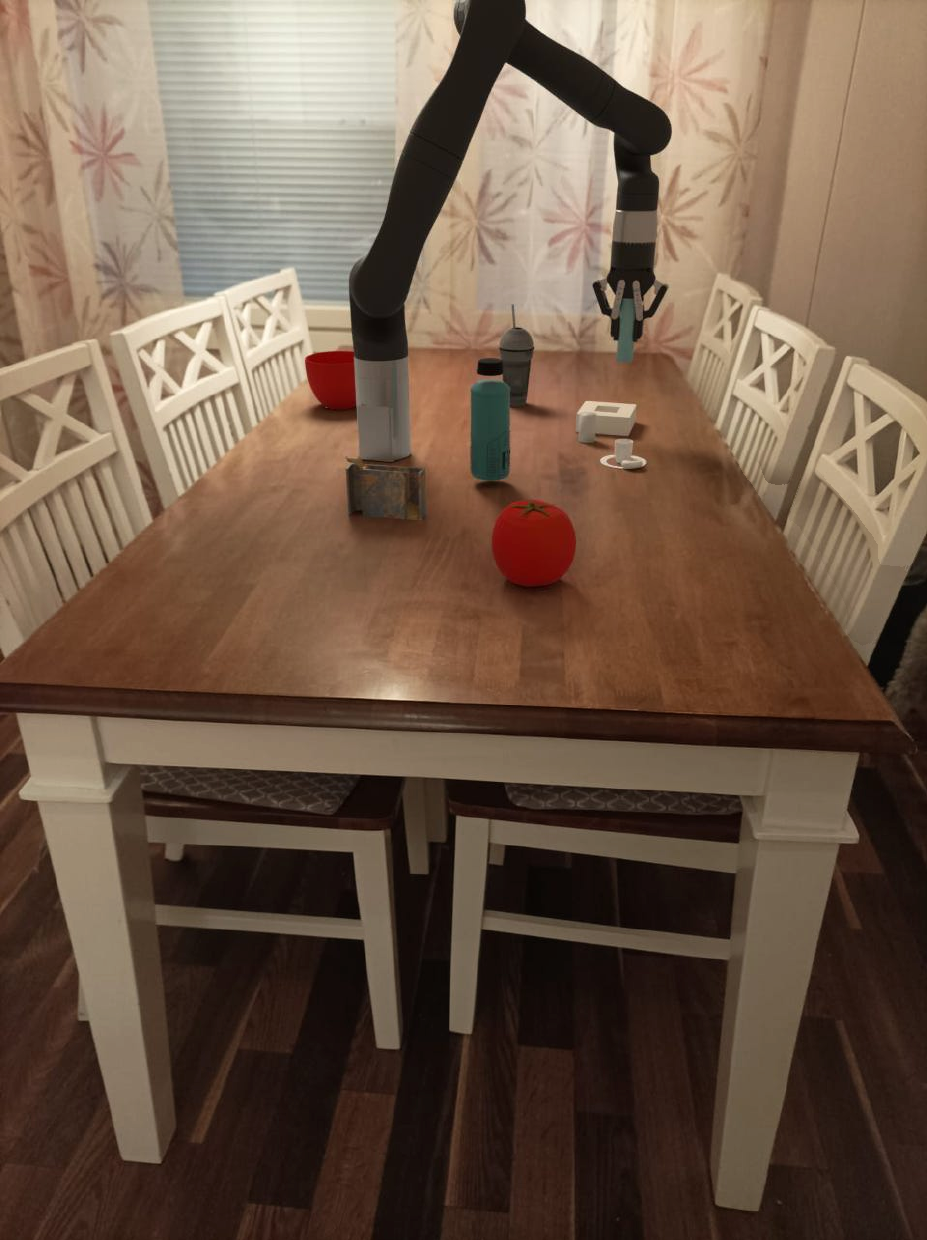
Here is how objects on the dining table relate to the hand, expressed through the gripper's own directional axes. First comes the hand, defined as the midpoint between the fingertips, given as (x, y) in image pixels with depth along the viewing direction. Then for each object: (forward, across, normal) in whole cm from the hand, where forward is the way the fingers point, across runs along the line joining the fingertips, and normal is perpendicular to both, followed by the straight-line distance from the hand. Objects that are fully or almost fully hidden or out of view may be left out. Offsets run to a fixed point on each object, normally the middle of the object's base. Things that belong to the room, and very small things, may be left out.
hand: (626, 340), depth 174 cm
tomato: (+18, +1, -69) cm, 71 cm away
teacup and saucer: (+18, +2, -19) cm, 27 cm away
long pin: (+4, 0, 0) cm, 4 cm away
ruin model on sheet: (+18, -26, -53) cm, 62 cm away
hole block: (+17, -3, +4) cm, 18 cm away
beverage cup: (+18, -24, +15) cm, 34 cm away
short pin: (+17, -5, -6) cm, 19 cm away
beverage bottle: (+18, -15, -34) cm, 42 cm away
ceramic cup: (+18, -57, +4) cm, 60 cm away
